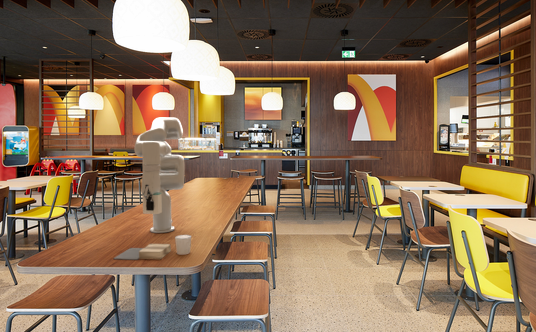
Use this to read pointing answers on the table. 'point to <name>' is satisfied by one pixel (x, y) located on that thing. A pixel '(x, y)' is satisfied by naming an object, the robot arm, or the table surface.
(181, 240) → the pale pink cylinder
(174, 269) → the table surface
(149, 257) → the birch step
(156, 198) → the cream block
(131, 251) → the grey mat
